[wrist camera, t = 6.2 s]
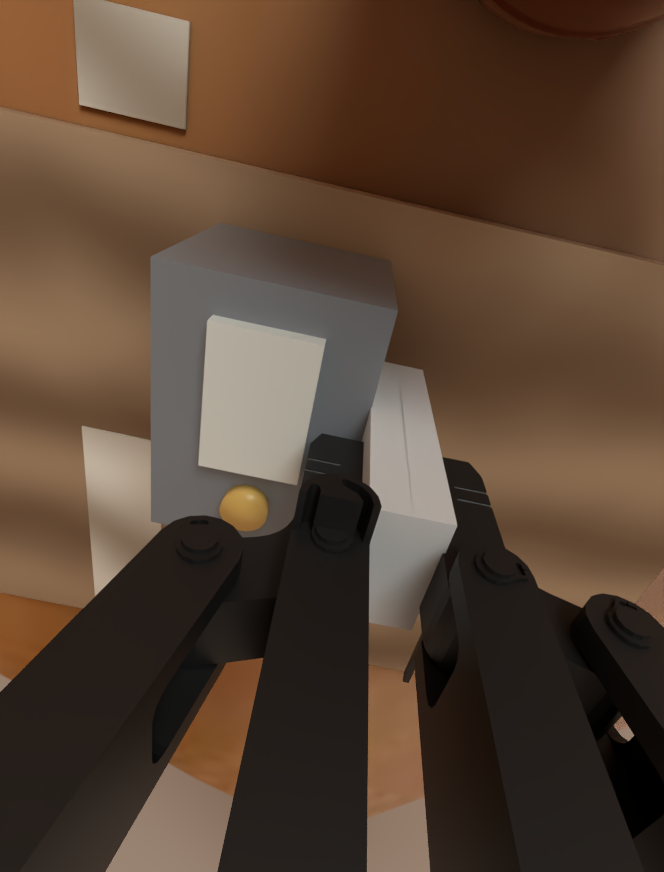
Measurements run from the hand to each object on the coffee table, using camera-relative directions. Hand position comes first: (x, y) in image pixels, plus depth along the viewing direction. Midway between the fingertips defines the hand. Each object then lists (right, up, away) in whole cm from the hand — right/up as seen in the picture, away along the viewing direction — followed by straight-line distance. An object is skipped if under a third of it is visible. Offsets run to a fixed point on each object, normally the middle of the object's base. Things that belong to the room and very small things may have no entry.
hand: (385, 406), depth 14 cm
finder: (-3, +2, +2) cm, 4 cm away
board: (-2, -1, +5) cm, 5 cm away
